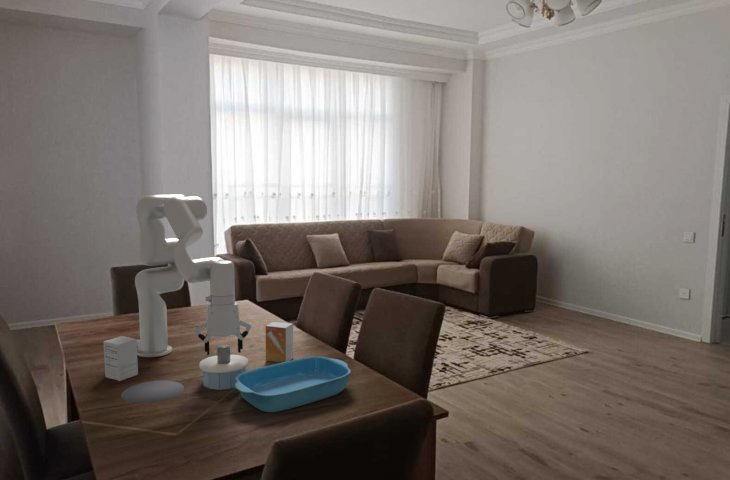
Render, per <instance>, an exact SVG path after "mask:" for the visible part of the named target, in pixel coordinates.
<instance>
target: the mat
mask: <svg viewBox="0 0 730 480" xmlns="http://www.w3.org/2000/svg"><path fill="white" fill-rule="evenodd" d="M184 391H185V386H184V385H183V384H182V383H181V382H179V381H173V380H152V381H151V380H150V381H145V382H142V383H138V384H134V385H131V386H130V387H128V388H126V389H124V390H123V391H122V392H121V395H120V397H121V399H122V400H124V401H125V402H128V403H132V404H152V403H154V404H155V403H158V402H159V403H160V402H164V401H168V400H171V399H173V398H174V399H175V398H176V397H178V396H180V394H182V393H183V392H184Z"/></svg>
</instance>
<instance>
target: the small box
mask: <svg viewBox="0 0 730 480" xmlns="http://www.w3.org/2000/svg"><path fill="white" fill-rule="evenodd" d="M293 358H294V323H289V322H279V321H278V322H277V321H272V322H270V323H268V324H267V325H265V361H268V362H274V363H283V362H287V361H292V359H293Z"/></svg>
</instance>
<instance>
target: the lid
mask: <svg viewBox="0 0 730 480" xmlns="http://www.w3.org/2000/svg"><path fill="white" fill-rule="evenodd" d="M216 354H217V355H213V356H209V357H206V358H203V359H202V360H201V361H200V362H199V369H200V370H201V371H202V372H203V371H205V372H209V373H229V372H235V371H238V370H241V369H243V368H245V369H246V367H248V365H249V359H248V358H247V357H245V356H244V355H239V354H231V346H230V345H229V344H220V345H218V346H217V347H216Z"/></svg>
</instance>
